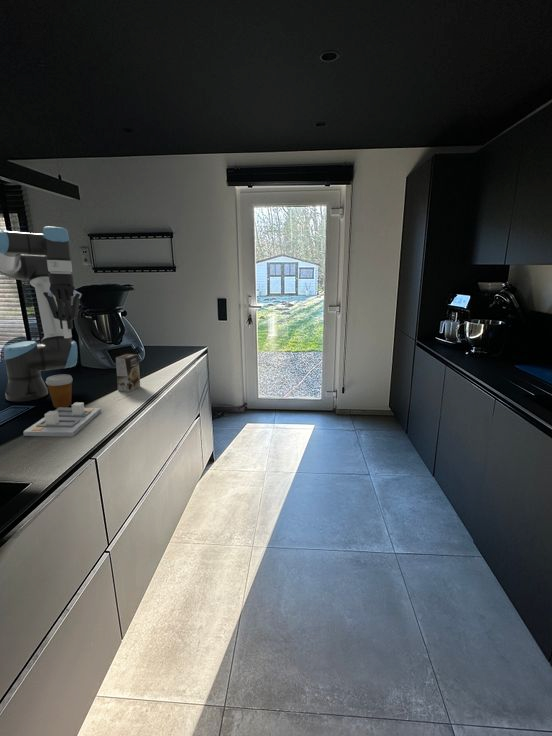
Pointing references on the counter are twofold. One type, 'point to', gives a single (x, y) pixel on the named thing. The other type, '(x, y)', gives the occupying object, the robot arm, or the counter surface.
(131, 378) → the coffee box
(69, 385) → the disposable coffee cup
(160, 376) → the counter surface
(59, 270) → the robot arm
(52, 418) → the tab
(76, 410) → the tab
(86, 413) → the switch plate
